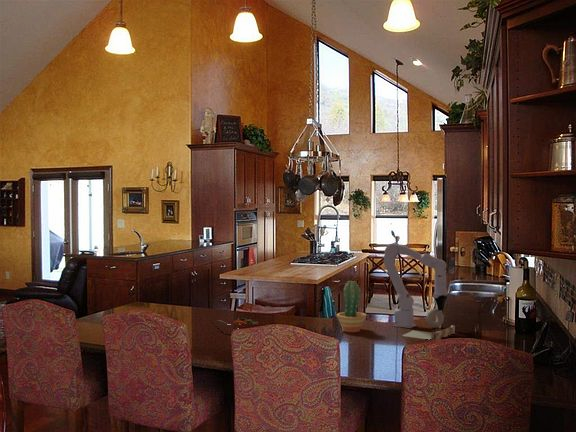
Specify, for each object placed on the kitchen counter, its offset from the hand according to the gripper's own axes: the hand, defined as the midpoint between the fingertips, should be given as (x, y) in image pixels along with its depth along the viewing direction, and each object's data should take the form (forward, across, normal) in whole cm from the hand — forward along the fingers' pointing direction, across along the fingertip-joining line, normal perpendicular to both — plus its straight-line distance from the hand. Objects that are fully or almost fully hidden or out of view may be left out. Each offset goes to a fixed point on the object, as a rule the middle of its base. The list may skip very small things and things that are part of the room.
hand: (440, 310), depth 273 cm
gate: (+9, -20, -8) cm, 23 cm away
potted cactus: (+10, -28, +36) cm, 47 cm away
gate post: (+9, -10, -10) cm, 17 cm away
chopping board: (+10, -50, +92) cm, 105 cm away
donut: (+10, 0, +3) cm, 10 cm away
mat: (+9, -19, +2) cm, 21 cm away
